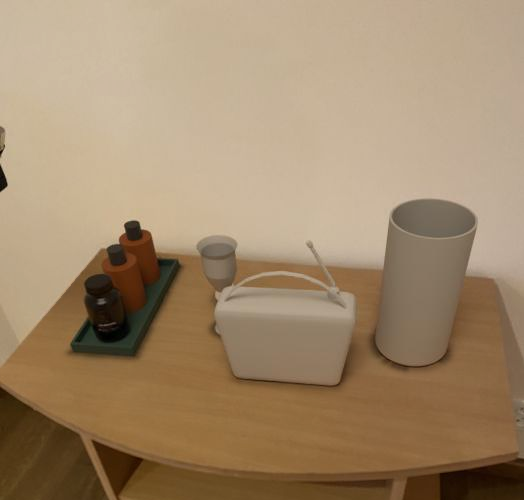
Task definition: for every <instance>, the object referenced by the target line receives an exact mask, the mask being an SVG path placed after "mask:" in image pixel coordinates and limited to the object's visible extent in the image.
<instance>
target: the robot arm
mask: <svg viewBox="0 0 524 500" xmlns="http://www.w3.org/2000/svg"><path fill="white" fill-rule="evenodd" d="M5 142H6V129H5V128H4V127H3V126H1V125H0V159H1V158H2V157H3V156H2V154H3V153H4V150H5V148H6V143H5ZM8 186H9V184H8V180H7V177H6V174H5V172H4V170H3V167H2V164H1V163H0V193H2V192H3V191H4V190H5V189H7V188H8Z"/></svg>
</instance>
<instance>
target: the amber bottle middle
mask: <svg viewBox="0 0 524 500" xmlns="http://www.w3.org/2000/svg"><path fill="white" fill-rule="evenodd" d="M106 254H107V257H105V258H104V259H103V260H102V261H101V264H100V266H101V267H100V268H101V270H102V272H103V273H102V274H107V275H108V276H110V277H111V280H112V283H113V286H114V287H116V288H117V289H118V290H119V291H120V292H121V295H122V298H123V302H124V305H125V309H126V313H132V312H136V311H138V310H140V309H142V308H143V307H144V306H145V305H146V303H147V297H146V293H145V289H144V285H143V282H142V278H141V274H140V270H139V266H138V263H137V259H136V257H135V256H134V255H133V254H131V253H125V251H124V247H123V245H121V244H119V243H114V244H111V245H109V246H107V247H106Z"/></svg>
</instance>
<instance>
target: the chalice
mask: <svg viewBox="0 0 524 500" xmlns="http://www.w3.org/2000/svg"><path fill="white" fill-rule="evenodd" d="M195 247H196V250H197V251H198V253H199V254H200V259H201V266H202V273H203V274H204V276H205V278H206V280H207V281H208V283H209V284H210V285H211V287H212V288H213V289H214V290H215V292H216V291H217V292H219V293H221V292H222V290H223V289H224V288H226V287H229V286H232V284H233V285H234V281H235V279H236V276H237V272H238V264H237V256H236V250H237V248H238V242H237V240H236V239H234V238H233V237H231V236H228V235H223V234H222V235H221V234H215V235H210V236H206V237H203V238H201V239H200V240H199V241H197V244H196V245H195ZM215 323H216V322H215ZM214 330H215V332H216V333H217V334H218V335H220V332H219V329H218V326H217V323H216V324H215V326H214Z"/></svg>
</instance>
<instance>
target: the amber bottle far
mask: <svg viewBox="0 0 524 500" xmlns="http://www.w3.org/2000/svg"><path fill="white" fill-rule="evenodd" d="M123 228H124V231H125V232H124V233H122V234H121V235H120V236H119V238H118V244H121V245H123V247H124V251H125V253H131V254H133V255H134V256H135V257H136V259H137V263H138V266H139V270H140V274H141V278H142V282H143V285H144V286H147V285H151V284H153V283H155V282H157V281H158V280H159V279H160V276H161V274H160V269H159V265H158V261H157V258H158V257H157V252H156V248H155V244H154V240H153V236H152V233H151V232H150V231H149V230H147V229H142V227H141V223H140V221H139V220H135V219H133V220H132V219H131V220H129V221H126V222H125V223H124V224H123Z"/></svg>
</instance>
